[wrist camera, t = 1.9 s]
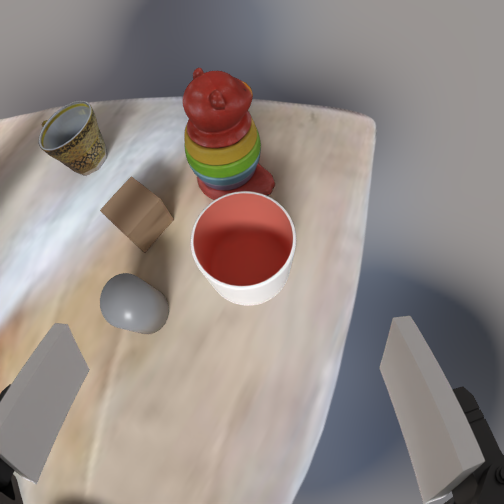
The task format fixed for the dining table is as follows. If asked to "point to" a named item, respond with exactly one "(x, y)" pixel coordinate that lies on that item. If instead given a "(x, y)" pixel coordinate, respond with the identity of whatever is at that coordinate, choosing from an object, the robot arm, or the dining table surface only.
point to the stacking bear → (223, 136)
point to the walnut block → (138, 213)
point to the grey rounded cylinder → (133, 304)
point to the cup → (244, 246)
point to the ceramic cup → (74, 138)
